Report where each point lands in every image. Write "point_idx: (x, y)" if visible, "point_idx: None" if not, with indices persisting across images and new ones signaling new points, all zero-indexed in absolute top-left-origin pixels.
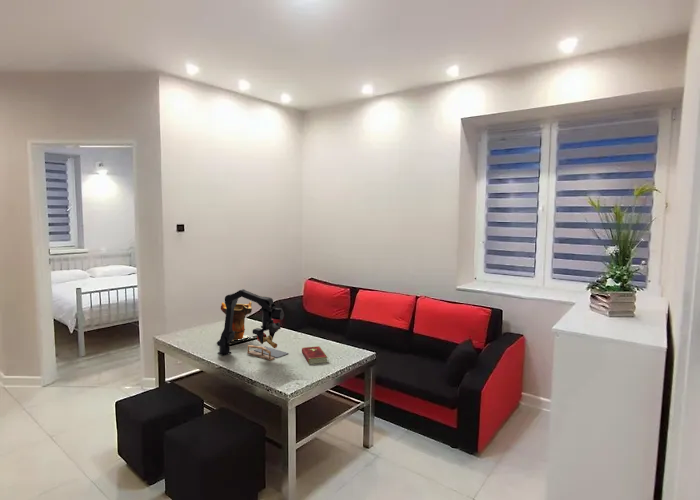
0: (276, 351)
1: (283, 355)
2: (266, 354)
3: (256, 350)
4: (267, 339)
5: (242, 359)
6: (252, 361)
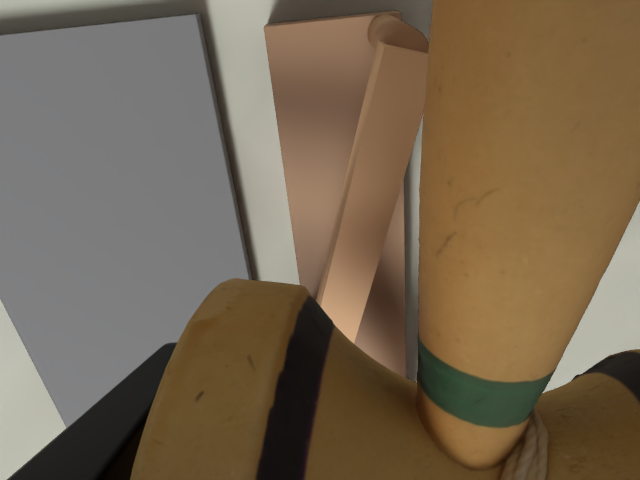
0: (55, 271)
1: (23, 33)
2: None
3: None
4: (493, 414)
5: (600, 357)
6: None
